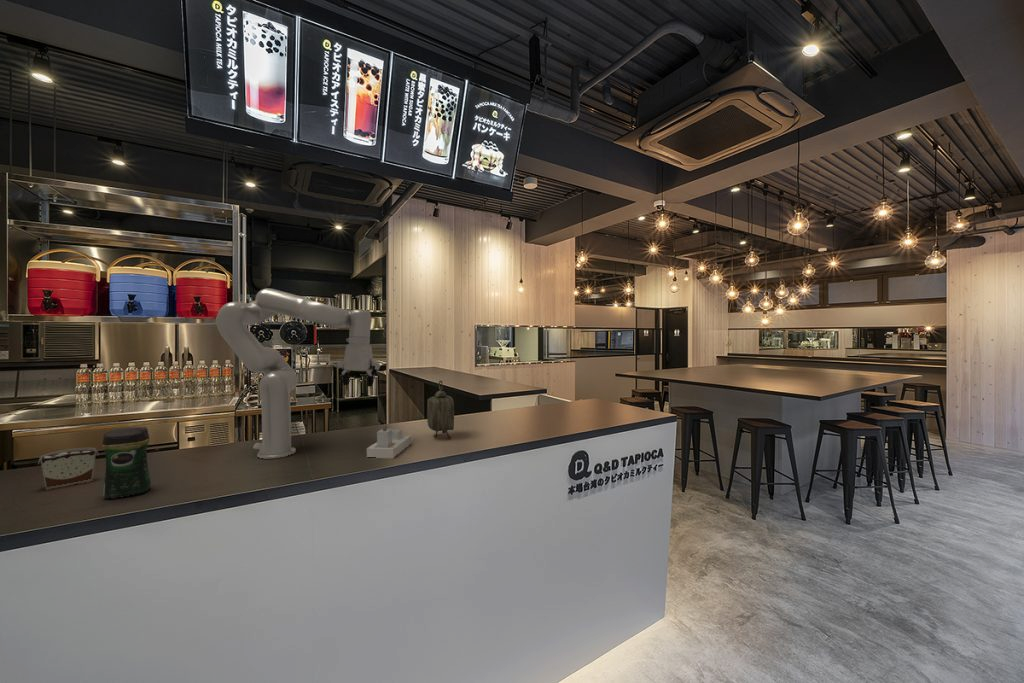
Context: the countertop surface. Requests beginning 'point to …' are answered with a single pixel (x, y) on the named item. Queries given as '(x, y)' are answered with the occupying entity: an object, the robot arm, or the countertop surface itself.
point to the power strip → (397, 446)
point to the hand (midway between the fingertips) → (357, 385)
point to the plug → (384, 438)
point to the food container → (68, 466)
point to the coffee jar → (126, 462)
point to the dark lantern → (440, 412)
